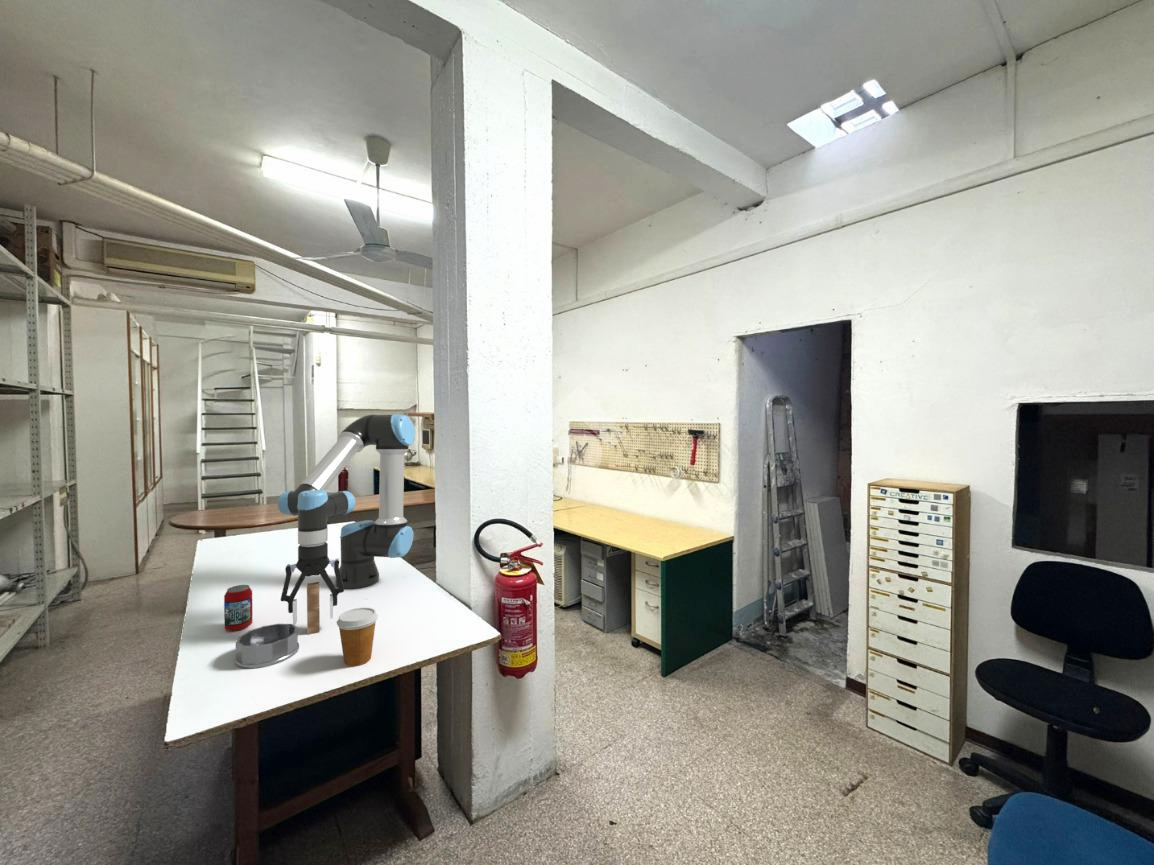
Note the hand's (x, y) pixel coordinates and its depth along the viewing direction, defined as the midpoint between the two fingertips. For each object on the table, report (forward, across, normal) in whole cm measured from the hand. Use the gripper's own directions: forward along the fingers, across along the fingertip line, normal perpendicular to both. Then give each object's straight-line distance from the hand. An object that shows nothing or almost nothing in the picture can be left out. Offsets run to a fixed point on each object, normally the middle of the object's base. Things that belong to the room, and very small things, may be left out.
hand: (313, 619), depth 133 cm
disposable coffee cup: (+4, -11, +24) cm, 27 cm away
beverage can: (+4, +20, -13) cm, 24 cm away
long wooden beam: (+3, 0, 0) cm, 3 cm away
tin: (+3, +10, +10) cm, 15 cm away
